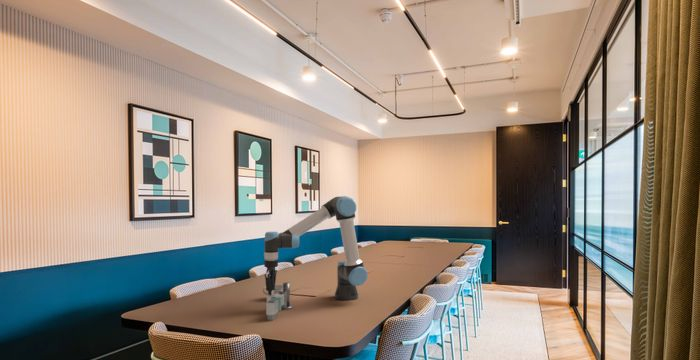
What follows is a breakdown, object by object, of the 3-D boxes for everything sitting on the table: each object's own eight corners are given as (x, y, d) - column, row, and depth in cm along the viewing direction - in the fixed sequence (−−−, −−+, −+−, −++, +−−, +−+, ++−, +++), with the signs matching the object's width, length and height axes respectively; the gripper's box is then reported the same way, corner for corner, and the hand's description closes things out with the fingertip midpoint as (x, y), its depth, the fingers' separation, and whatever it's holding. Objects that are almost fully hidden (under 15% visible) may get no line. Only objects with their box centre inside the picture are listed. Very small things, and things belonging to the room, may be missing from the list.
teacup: (286, 297, 258) (287, 284, 258) (282, 301, 247) (282, 288, 248) (265, 296, 259) (265, 284, 260) (260, 301, 249) (260, 287, 249)
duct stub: (272, 315, 218) (272, 296, 219) (281, 315, 217) (281, 296, 218) (265, 320, 208) (265, 301, 208) (274, 321, 207) (274, 301, 208)
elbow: (279, 306, 232) (280, 290, 233) (287, 307, 230) (287, 291, 230) (266, 311, 221) (266, 294, 222) (273, 312, 219) (274, 295, 219)
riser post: (281, 305, 238) (281, 281, 238) (294, 306, 236) (295, 281, 237) (277, 309, 230) (277, 284, 231) (290, 309, 229) (290, 284, 229)
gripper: (269, 257, 234) (268, 298, 233) (260, 261, 221) (259, 304, 221) (281, 258, 233) (280, 299, 232) (273, 261, 220) (272, 305, 219)
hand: (270, 302), depth 226 cm, fingers closed
